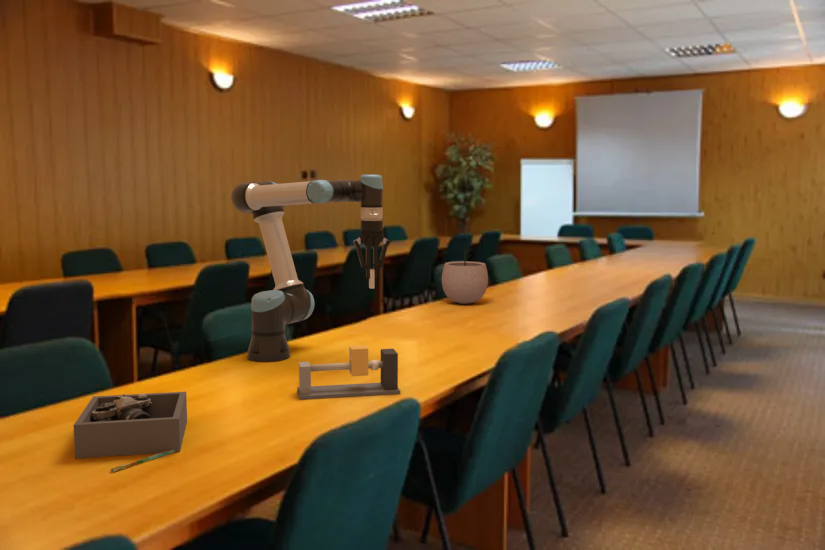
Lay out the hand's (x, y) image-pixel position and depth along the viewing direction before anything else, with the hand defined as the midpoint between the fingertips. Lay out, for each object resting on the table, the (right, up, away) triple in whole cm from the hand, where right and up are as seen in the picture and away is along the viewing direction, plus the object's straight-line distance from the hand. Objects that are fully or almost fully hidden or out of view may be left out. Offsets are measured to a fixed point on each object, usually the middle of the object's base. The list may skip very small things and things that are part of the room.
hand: (371, 287), depth 260 cm
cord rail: (-5, -31, -33) cm, 46 cm away
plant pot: (+41, -10, +129) cm, 136 cm away
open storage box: (-54, -36, -75) cm, 99 cm away
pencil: (-46, -38, -89) cm, 107 cm away
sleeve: (-2, -25, -33) cm, 42 cm away
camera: (-56, -36, -73) cm, 99 cm away
